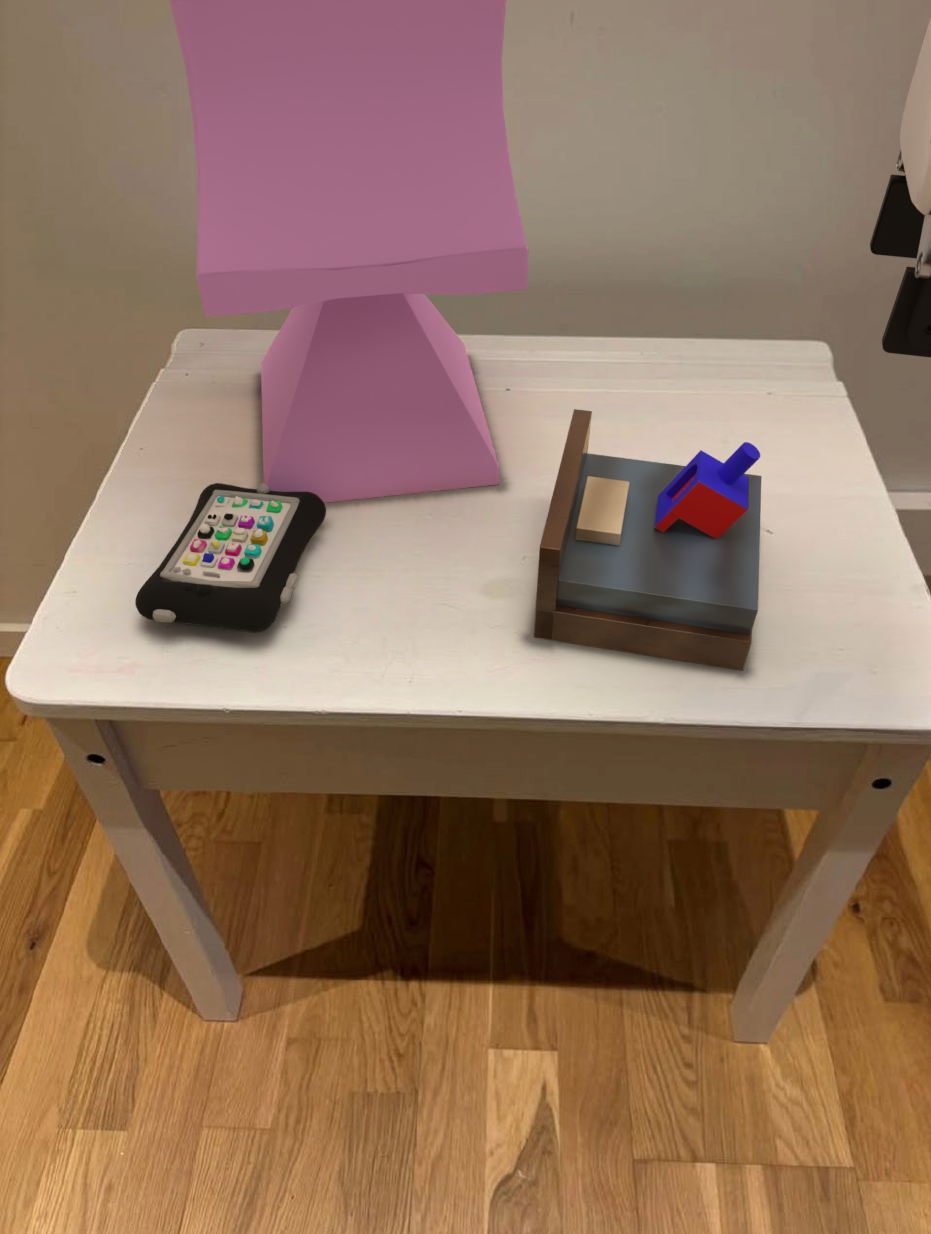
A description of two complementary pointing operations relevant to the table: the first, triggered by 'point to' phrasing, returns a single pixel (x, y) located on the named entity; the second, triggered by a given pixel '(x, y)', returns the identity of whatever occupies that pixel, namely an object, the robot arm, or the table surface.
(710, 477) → the toy building block
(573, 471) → the doll bed
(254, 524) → the phone
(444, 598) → the table surface
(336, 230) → the pink table lamp
